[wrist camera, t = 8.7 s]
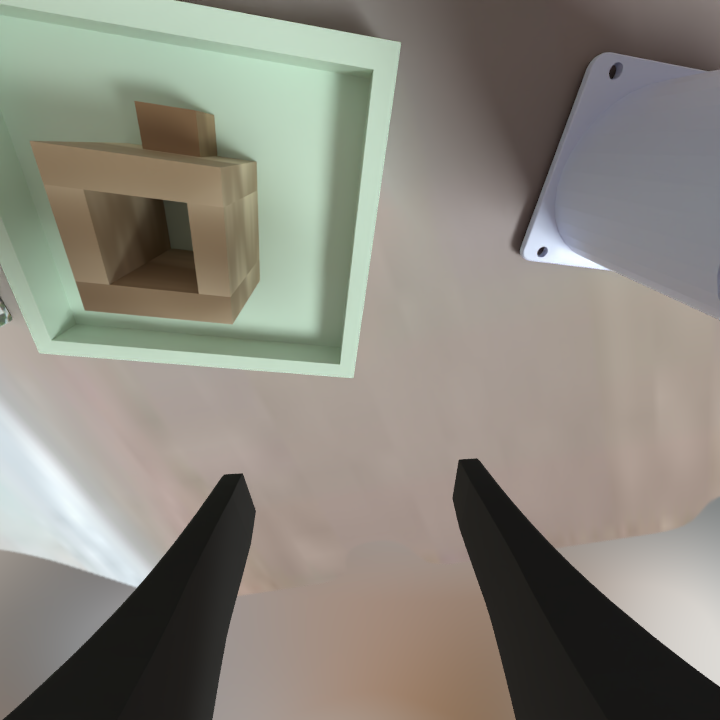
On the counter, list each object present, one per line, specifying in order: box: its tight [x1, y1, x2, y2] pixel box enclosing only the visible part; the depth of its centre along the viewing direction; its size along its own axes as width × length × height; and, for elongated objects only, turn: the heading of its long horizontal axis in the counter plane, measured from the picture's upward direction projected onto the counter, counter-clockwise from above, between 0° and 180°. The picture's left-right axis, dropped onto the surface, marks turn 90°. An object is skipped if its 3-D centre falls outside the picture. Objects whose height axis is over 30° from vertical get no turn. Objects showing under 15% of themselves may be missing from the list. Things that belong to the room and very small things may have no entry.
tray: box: [0, 0, 401, 378], centre depth 15 cm, size 16×14×2 cm
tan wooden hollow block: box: [30, 101, 260, 324], centre depth 13 cm, size 7×5×5 cm
